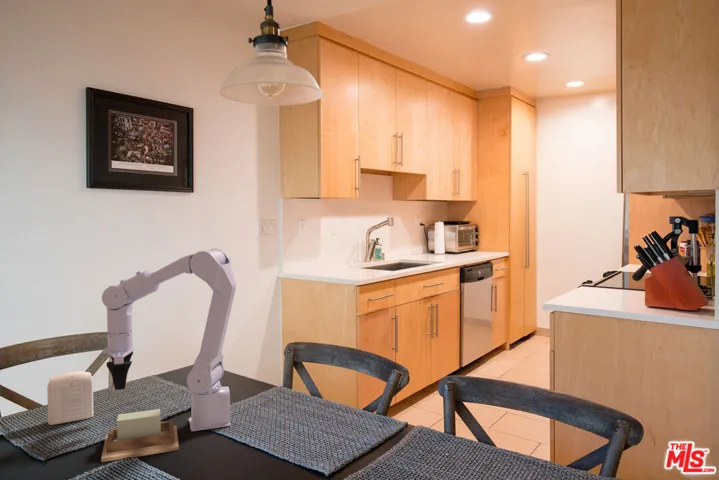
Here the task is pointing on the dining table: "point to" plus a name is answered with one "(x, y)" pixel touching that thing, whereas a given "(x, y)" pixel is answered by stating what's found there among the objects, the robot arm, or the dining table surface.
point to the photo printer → (70, 397)
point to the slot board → (140, 444)
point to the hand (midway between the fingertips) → (121, 384)
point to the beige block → (138, 424)
